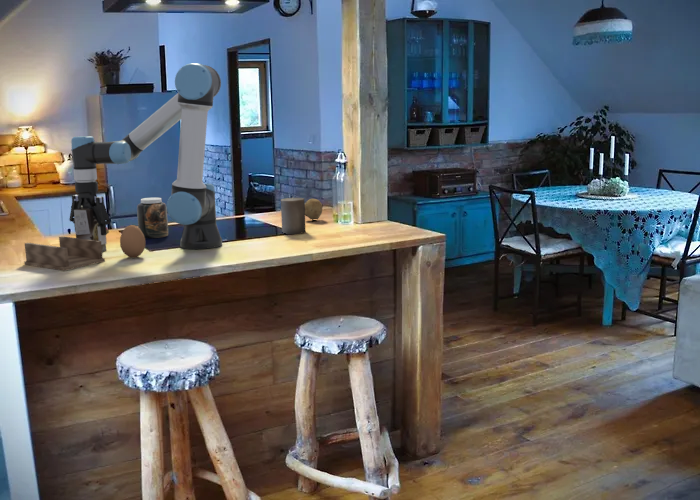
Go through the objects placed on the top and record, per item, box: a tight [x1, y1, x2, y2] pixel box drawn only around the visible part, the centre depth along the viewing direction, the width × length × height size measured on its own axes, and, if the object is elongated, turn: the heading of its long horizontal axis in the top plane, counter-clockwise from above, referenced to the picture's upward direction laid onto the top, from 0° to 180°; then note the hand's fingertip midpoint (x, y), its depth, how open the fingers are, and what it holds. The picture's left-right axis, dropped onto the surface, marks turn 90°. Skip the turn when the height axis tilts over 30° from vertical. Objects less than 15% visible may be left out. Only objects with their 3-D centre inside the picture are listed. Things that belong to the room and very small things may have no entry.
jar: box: [136, 197, 169, 239], centre depth 282 cm, size 12×12×15 cm
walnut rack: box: [23, 236, 105, 272], centre depth 234 cm, size 20×16×7 cm
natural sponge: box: [305, 198, 323, 220], centre depth 316 cm, size 9×9×10 cm
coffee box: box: [73, 207, 107, 253], centre depth 250 cm, size 9×6×16 cm
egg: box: [119, 224, 146, 259], centre depth 241 cm, size 8×8×11 cm
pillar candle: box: [280, 196, 306, 235], centre depth 286 cm, size 10×10×15 cm
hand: (91, 242), depth 251 cm, fingers open, 11 cm apart
